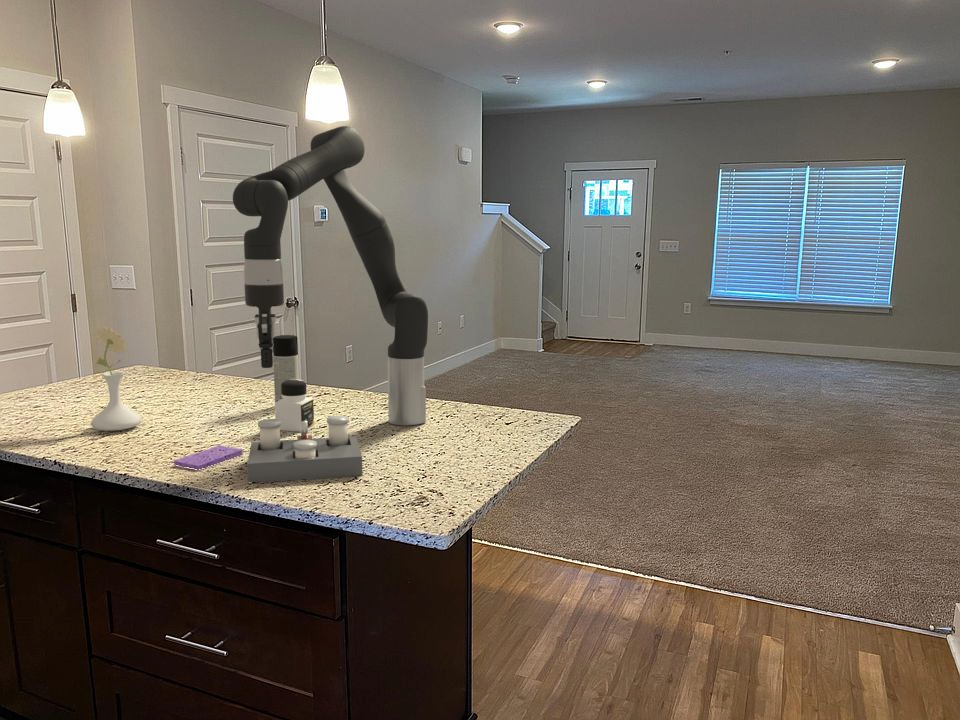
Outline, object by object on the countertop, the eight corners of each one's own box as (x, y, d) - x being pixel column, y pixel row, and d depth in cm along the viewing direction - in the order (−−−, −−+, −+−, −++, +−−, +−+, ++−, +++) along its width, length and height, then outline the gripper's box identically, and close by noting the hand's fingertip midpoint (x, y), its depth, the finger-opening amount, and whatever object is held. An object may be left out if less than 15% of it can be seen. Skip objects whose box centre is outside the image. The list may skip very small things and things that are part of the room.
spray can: (304, 405, 204) (302, 335, 200) (290, 411, 198) (288, 338, 194) (284, 403, 206) (281, 334, 202) (270, 409, 200) (267, 337, 196)
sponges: (243, 457, 159) (242, 448, 159) (198, 473, 148) (197, 464, 148) (219, 452, 162) (219, 444, 162) (173, 468, 151) (173, 459, 151)
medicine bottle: (302, 432, 177) (300, 384, 175) (275, 430, 178) (273, 382, 176) (314, 424, 184) (313, 378, 182) (288, 423, 185) (286, 377, 183)
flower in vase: (150, 428, 179) (143, 328, 175) (101, 437, 171) (93, 332, 166) (129, 418, 188) (121, 323, 183) (81, 427, 180) (72, 326, 175)
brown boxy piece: (311, 441, 155) (311, 419, 154) (312, 445, 152) (311, 422, 151) (297, 442, 154) (296, 420, 154) (297, 446, 152) (296, 423, 151)
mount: (356, 453, 161) (355, 436, 160) (362, 475, 146) (362, 456, 146) (252, 460, 155) (251, 442, 154) (248, 483, 141) (247, 463, 140)
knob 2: (348, 440, 158) (348, 415, 157) (350, 446, 154) (349, 420, 153) (327, 442, 157) (326, 416, 156) (328, 448, 152) (327, 421, 151)
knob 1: (282, 444, 155) (281, 418, 154) (281, 451, 150) (280, 424, 149) (259, 446, 153) (258, 419, 152) (258, 452, 149) (257, 425, 148)
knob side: (317, 466, 150) (316, 439, 149) (317, 473, 146) (317, 445, 145) (294, 467, 149) (293, 440, 148) (294, 475, 145) (293, 447, 144)
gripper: (282, 284, 140) (285, 372, 143) (283, 279, 153) (286, 360, 156) (242, 284, 138) (246, 373, 141) (246, 279, 151) (250, 361, 154)
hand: (267, 366), depth 149 cm, fingers closed
